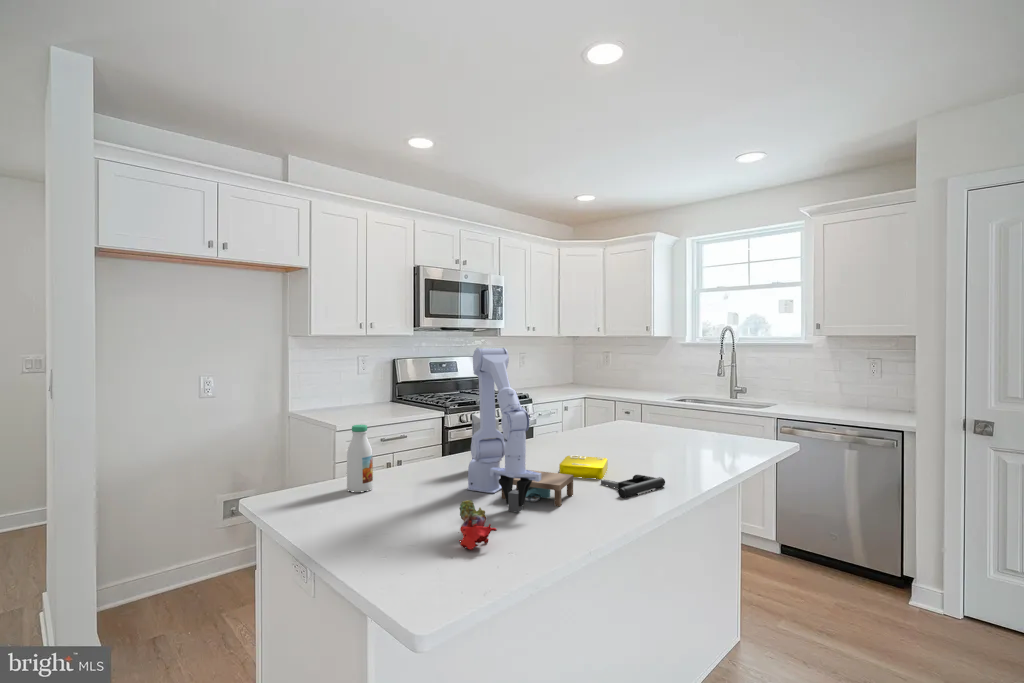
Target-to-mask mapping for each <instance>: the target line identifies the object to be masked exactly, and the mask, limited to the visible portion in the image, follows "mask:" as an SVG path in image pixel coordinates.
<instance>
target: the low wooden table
mask: <svg viewBox="0 0 1024 683" xmlns="http://www.w3.org/2000/svg"><path fill="white" fill-rule="evenodd" d="M528 470H529V471H533V472H538V473H541V480H540V481H539V482H537V481H535V480H532V482H531V484H530V486H529V487H534V488H542V489H550V491H554V507H557V506H560V507H561V506H562V490H563V489H564V488H565V487H566V496H567V495H568V496H567V497H573V496H574V478H573V475H569V474H560V473H558V472H551V471H541V470H540V471H539V470H532V469H531V470H530V469H528ZM519 480H520V479H518V478H514V480H513V486H516V489H515V490H518V486H517V481H519ZM572 495H573V496H572ZM501 500H506V498H505V495H504V492H503V489H501Z"/></svg>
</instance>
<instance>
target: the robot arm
mask: <svg viewBox="0 0 1024 683" xmlns="http://www.w3.org/2000/svg"><path fill="white" fill-rule="evenodd" d="M509 358H510V356H509V351H508V350H507V348H506V347H500V348H499V347H496V348H493V347H491V348H490V347H488V348H487V347H486V348H484V347H483V348H481V347H480V348H479V347H476V349H474V351H473V354H472V371H473V374H474V375H476V377H477V376H478V397H479V398H478V400H479V401H478V402H479V413H480V429H479V430H478V431H477V432H476V433H475V434H474V435H473V436H472V435H471V444H470V453H471V460H470V461H469V464H468V469H467V470H468V471H467V481H468V482H467V488H466V490H467V491H472V492H473V491H474V492H481V493H487V494H495V493H497V492H498V491H499V492H500V491H501V490H502V489H503V492H504V495H505V498H506V499H505V502H506V505H508V493H509V492H510V491H512V490H513V488H514V485H513V480H514V478H518V479H520V480H519V481H517V486H518V489H517V491H518V493H519V506H523V507H524V505H525V497H526V494H527V491H528V488H529V486H530V484H531V482H532V480H535V481H537V482H539V481H540V480H541V473H538V472H533V471H534V470H533V471H529V470H530V469H526V468H527V464H526V462H527V459H526V458H527V457H526V456H527V448H526V447H527V443H526V442H527V441H526V440H527V439H526V438H527V436H526V435H527V434H526V432H528V431H529V428H530V416H529V413H528V411H527V410H526V409H525V408H524V407H523V406H522V405H521V403H520V399H519V396H518V393H517V391H516V390H515V389H514V388H512V387H511V384H510V380H509V374H508V370H507V369H508V367H509V366H508V365H509V360H510V359H509ZM495 386H496V387H495ZM495 388H497V390H498V393H497V394H496V393H495ZM495 394H496V395H495ZM496 399H497V404H498V406H499V409H500V412H501V421H500V423H501V429H502V432H501V431H500V430H499V431H498V430H497V429H496V418H497V417H496ZM486 438H496V439H486ZM481 439H484V440H481ZM472 458H473V460H472ZM503 458H504V467H501V461H503V460H502V459H503Z"/></svg>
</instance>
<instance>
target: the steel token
mask: <svg viewBox="0 0 1024 683" xmlns="http://www.w3.org/2000/svg"><path fill="white" fill-rule="evenodd" d="M540 500H541V497H540V495H538V494H535V493H531V494H530V495H528V496H527V497H526V498H525V501H526V502H530V503H531V502H533V501H534V502H538V501H540Z"/></svg>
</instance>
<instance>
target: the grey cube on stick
mask: <svg viewBox="0 0 1024 683" xmlns="http://www.w3.org/2000/svg"><path fill="white" fill-rule="evenodd" d="M531 493H535V494H538V495H540V498H542V499H543V498H544V499H550V498H551V490H550V489H542V488H534V487H529V488H528V491H527V494H526V497H527V496H528V495H530V494H531ZM526 497H525V498H526ZM507 507H508V508H507V509H508V510H507V511H508V512H511V513H520V512H522V511H523V510H524V505H523V506H519V493H518V489H512V491H510V492H509V493H508V506H507Z"/></svg>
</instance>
